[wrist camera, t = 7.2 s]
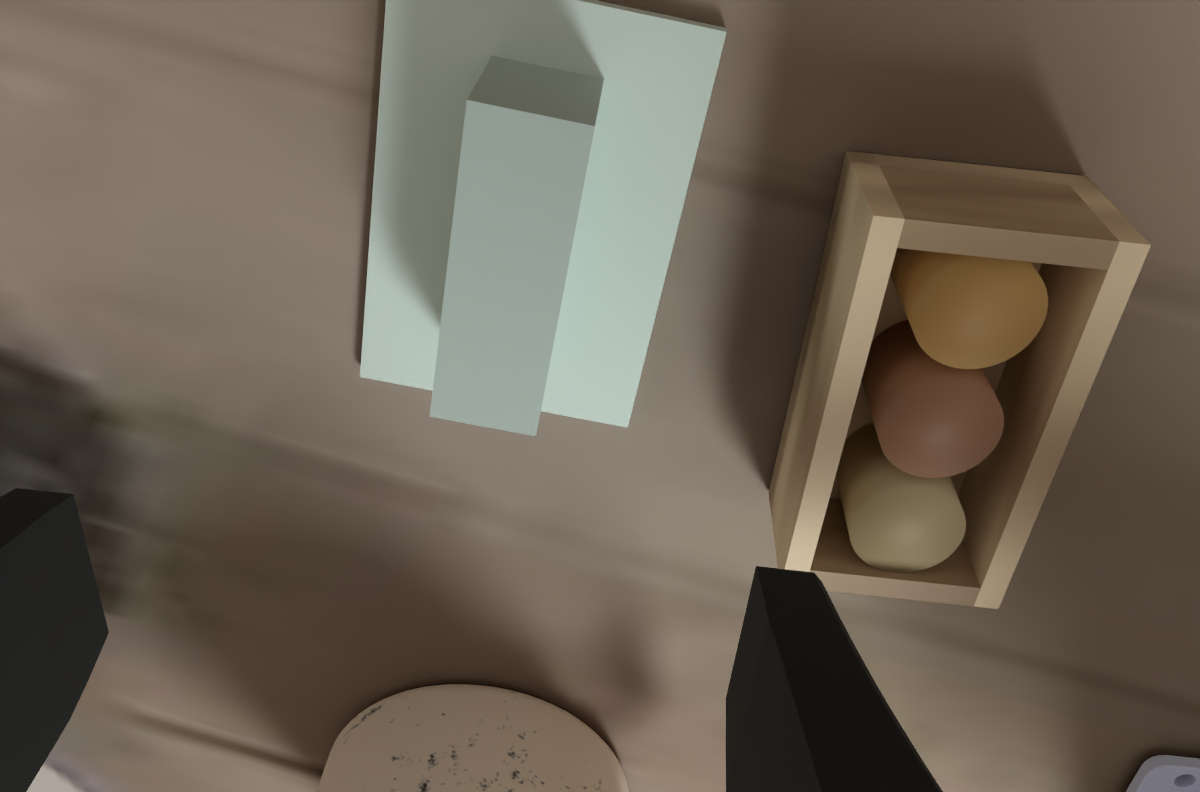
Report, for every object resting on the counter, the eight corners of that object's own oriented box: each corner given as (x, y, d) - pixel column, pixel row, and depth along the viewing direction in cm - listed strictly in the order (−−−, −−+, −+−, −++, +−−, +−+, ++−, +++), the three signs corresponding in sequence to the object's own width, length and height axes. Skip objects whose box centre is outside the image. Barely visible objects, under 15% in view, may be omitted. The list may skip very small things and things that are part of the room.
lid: (399, -49, 18) (347, -8, 15) (724, 21, 18) (735, 73, 15) (369, 357, 22) (325, 448, 19) (628, 407, 22) (622, 503, 20)
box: (845, 150, 18) (873, 216, 16) (1086, 175, 18) (1151, 244, 16) (768, 492, 23) (780, 586, 20) (962, 513, 23) (998, 609, 20)
